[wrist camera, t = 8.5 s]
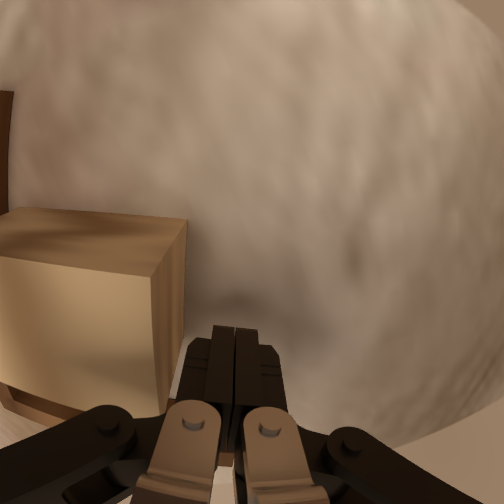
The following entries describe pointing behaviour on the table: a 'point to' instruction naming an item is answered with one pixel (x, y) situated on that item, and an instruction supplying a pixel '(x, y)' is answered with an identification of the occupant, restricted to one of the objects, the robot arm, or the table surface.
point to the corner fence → (16, 398)
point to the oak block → (92, 307)
